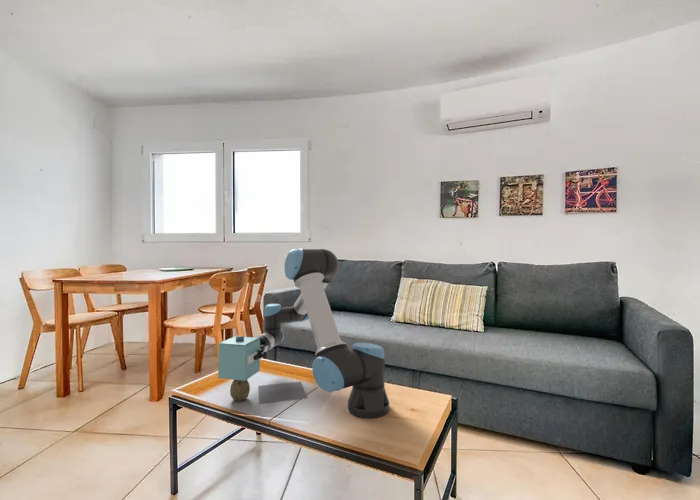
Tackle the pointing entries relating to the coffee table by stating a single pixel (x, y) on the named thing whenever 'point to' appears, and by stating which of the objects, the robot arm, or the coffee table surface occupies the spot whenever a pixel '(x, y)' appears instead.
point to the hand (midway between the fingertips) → (233, 359)
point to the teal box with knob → (238, 358)
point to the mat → (281, 392)
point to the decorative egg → (239, 390)
